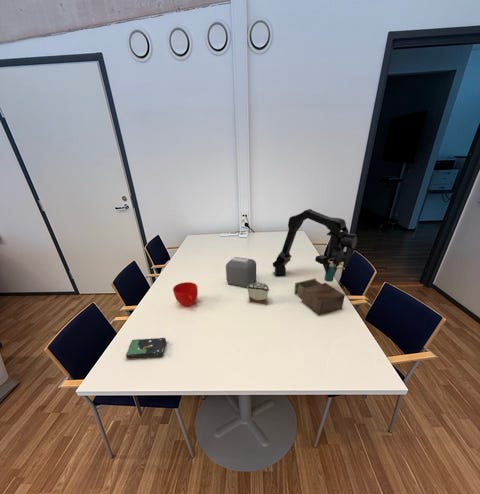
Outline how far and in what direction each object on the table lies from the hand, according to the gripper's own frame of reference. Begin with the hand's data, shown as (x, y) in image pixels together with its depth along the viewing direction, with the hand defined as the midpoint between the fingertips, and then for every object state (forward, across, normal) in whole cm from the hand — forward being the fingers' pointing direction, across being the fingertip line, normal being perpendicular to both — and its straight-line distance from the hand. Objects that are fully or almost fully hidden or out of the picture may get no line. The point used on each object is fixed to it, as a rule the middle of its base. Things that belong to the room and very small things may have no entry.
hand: (330, 271), depth 148 cm
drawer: (+11, -14, -2) cm, 17 cm away
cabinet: (+12, -13, -13) cm, 22 cm away
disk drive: (+12, -104, -11) cm, 105 cm away
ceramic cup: (+12, -78, +19) cm, 81 cm away
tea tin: (+5, 0, 0) cm, 5 cm away
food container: (+12, -41, +6) cm, 43 cm away
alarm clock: (+12, -42, +31) cm, 53 cm away
